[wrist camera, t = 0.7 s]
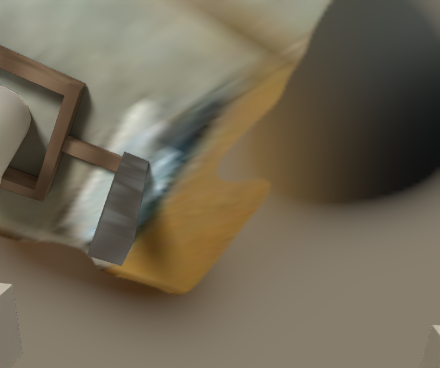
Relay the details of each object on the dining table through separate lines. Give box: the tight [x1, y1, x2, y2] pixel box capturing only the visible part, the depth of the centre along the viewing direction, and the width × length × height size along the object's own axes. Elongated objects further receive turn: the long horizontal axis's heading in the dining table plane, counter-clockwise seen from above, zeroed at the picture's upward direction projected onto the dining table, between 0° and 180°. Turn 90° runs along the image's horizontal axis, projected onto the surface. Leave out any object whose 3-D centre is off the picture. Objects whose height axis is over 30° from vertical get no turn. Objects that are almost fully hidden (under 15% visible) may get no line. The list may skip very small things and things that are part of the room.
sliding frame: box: [0, 46, 149, 266], centre depth 32 cm, size 24×14×15 cm, turn 62°
